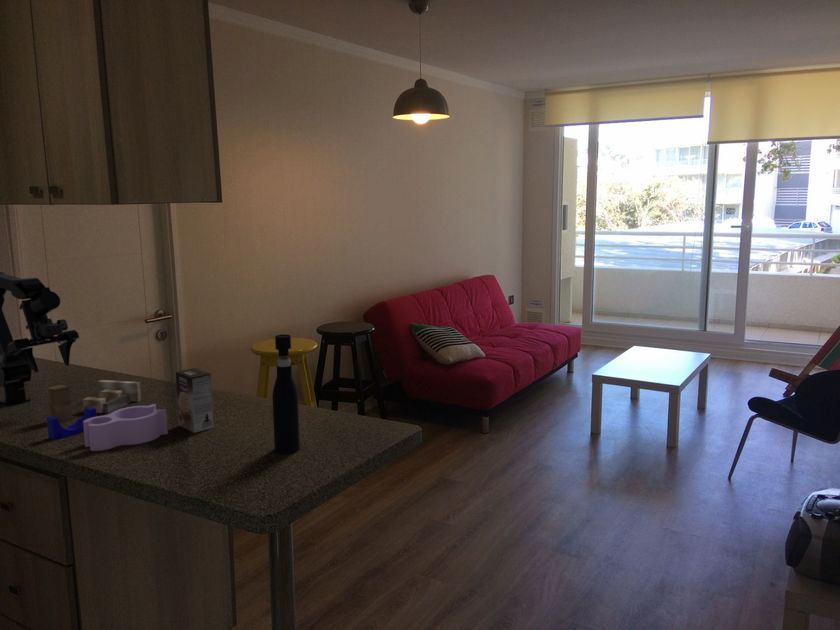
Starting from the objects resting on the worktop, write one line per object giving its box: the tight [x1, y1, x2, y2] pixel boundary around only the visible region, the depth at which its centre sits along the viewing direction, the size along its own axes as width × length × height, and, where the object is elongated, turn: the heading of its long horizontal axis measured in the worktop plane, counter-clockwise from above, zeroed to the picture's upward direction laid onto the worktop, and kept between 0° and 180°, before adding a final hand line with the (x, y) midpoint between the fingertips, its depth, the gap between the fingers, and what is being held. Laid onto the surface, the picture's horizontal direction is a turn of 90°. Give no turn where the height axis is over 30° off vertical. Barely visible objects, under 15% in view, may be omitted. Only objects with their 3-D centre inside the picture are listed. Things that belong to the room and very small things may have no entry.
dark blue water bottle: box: [271, 334, 301, 455], centre depth 174 cm, size 6×6×30 cm
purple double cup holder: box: [83, 403, 169, 452], centre depth 184 cm, size 20×12×7 cm, turn 135°
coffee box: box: [175, 367, 214, 434], centre depth 192 cm, size 9×6×16 cm
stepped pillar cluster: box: [82, 379, 142, 415], centre depth 213 cm, size 14×14×6 cm
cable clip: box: [46, 407, 97, 441], centre depth 189 cm, size 12×4×6 cm, turn 143°
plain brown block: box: [47, 384, 73, 424], centre depth 199 cm, size 4×4×10 cm
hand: (52, 368), depth 202 cm, fingers open, 9 cm apart
